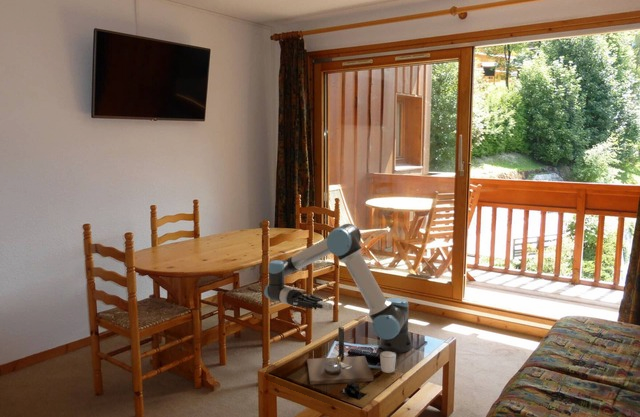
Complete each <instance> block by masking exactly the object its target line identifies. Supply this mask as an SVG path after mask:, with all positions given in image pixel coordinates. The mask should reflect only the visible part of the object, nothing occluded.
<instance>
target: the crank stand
mask: <svg viewBox="0 0 640 417" xmlns="http://www.w3.org/2000/svg"><path fill="white" fill-rule="evenodd" d="M336 357H337V356H335V357H322V358H321V357H319V358H318V357H317V358H306V363H307V364H306V365H307V370H308V372H307V373H308V376H309V377H308V378H309V383H310V384H309V385H322V384H323V385H325V384H340V383H342V384H343V383H346V384H347V383H349V382H350V381H353V382H355V383H361V382H374V380H375V379H374V378H375V376H374V375H373V372H372V370H371V367H370V365H369V363H368V362H369V361H367V358H366V356H365V355H361V356H359V355H358V356H357V355H356V356H344V359H341V361H340V364H341V372H340V373H338V374H328V373H326V372H325V370H324V365H325V363H327V362H330V361H334V360H335V358H336Z"/></svg>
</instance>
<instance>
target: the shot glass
mask: <svg viewBox="0 0 640 417" xmlns="http://www.w3.org/2000/svg"><path fill="white" fill-rule="evenodd" d="M396 358H397V354H396V353H395V352H391V351H385V350H384V351H381V352H380V353H379V359H380V370H381V371H382V372H383V373H386V374H387V373H388V374H391V373H394V372H395V371H396V369H395V368H396V361H397V359H396Z"/></svg>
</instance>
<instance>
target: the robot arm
mask: <svg viewBox="0 0 640 417" xmlns="http://www.w3.org/2000/svg"><path fill="white" fill-rule="evenodd" d="M361 239H362V233H361V231H360V228H358V227H357V226H356V225H355V224H354V223H344V224H342V225H340V226H339V227H335V228H334V229H333V230H331V231H330V232H329V234H328V235H327V237H326V238H324V239H323V240H321V241H319V242H317V243H315V244H313V245H311V246H309V247H307V248H305V249H303V250H301V251H300V252H298V253H295V254H293V255H292V256H290V257H288V258H286V259H284V260H279V259H278V260H277V259H276V260H271V261H269V263H268V270H267V271H268V284H267V285H266V286H265V287H264V288H265V289H264V291H263V292H264V293H263V294H264V296H265V297H266V298H267V299H270V300H271V301H275V302H279V303H283V304H286V305H290V306H292V307H300V308H304V309H305V308H306V309H310V310H313V309H314V310H317V309H321V310H323V311H327V312H329V311H331V310H333V306H332V303H330V302H327V301H324V298H321V297H319V296H317V295H314V294H312V293H310V294H309V295H307V294H303V293H302V291H301V290H299V289H296V288H295V289H294V288H290V287H287V286H285V278H286V277H287V276H289V275H290V274H293V273H294V272H295V273H296V272H297V271H299V270H301V269H302V268H305V267H306V266H308V265H310V264H313V263H315V262H316V261H319V260H321V259H323V258H325V257H327V256H328V255H331V254H333V255H335V256H336V257H337V259H338V261H339V262H341V263H344V265H345V267H346V268H347V270H348V272H349V274H350V276H351V277H352V279H353V281H354V283H355V284H356V286H357V288H358V290H359V292H360V294H361V296H362V298H363V300H364V301H365V304H366V305H367V307H368V309H369V312H368V316H369V317H370V319H371V321H372V324H371V329H372V332H374V334H375V335H376V336H377V337H378V338H380V339H379V348H381V349H382V350H384V351H391V352H394V353H395V354H396V353H398V354H399V353H405V352H408V351H410V350H411V349H412V347H413V346H412V345H413V343H412V340H411V336H410V333H409V308H410V307H409V301H408V300H407V299H403V298H399V297H397V298H396V297H389V298H386V296H385V295H384V293H383V291H382V290H381V287H380V285H379V284H378V282H377V280H376V279H375V277H374V275H373V273H372V271H371V269H370V268H369V266H368V263H366V260H365V258H364V256H363V255H362V246H361V245H360V242H361Z"/></svg>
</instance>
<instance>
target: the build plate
mask: <svg viewBox="0 0 640 417" xmlns="http://www.w3.org/2000/svg"><path fill="white" fill-rule="evenodd" d="M339 394H341V395H344V396H347V397H350V398H352V399H355V400H358V401H360V400H362V399H363V398H364V397H365V396H366V395H367V393H365V392H362V391H360V384H359V382H353V381H350V382H347V383H346V387H345V388H343V389H342V390H340V391H339Z"/></svg>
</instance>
